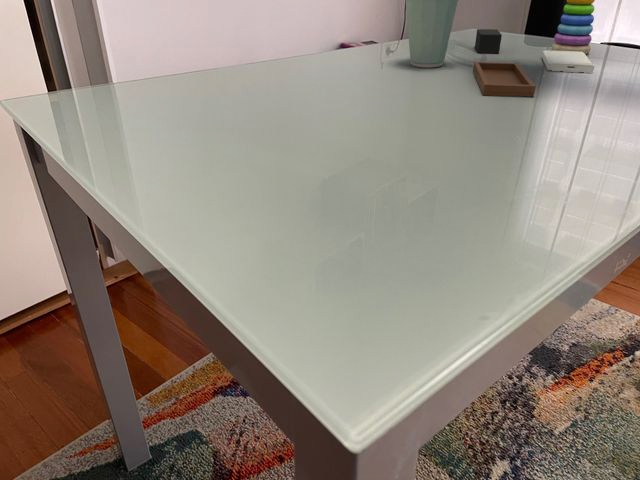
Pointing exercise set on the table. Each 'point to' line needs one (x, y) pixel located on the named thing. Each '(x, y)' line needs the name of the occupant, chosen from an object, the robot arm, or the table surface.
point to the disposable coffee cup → (429, 30)
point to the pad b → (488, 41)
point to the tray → (502, 79)
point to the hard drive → (567, 61)
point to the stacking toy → (575, 27)
